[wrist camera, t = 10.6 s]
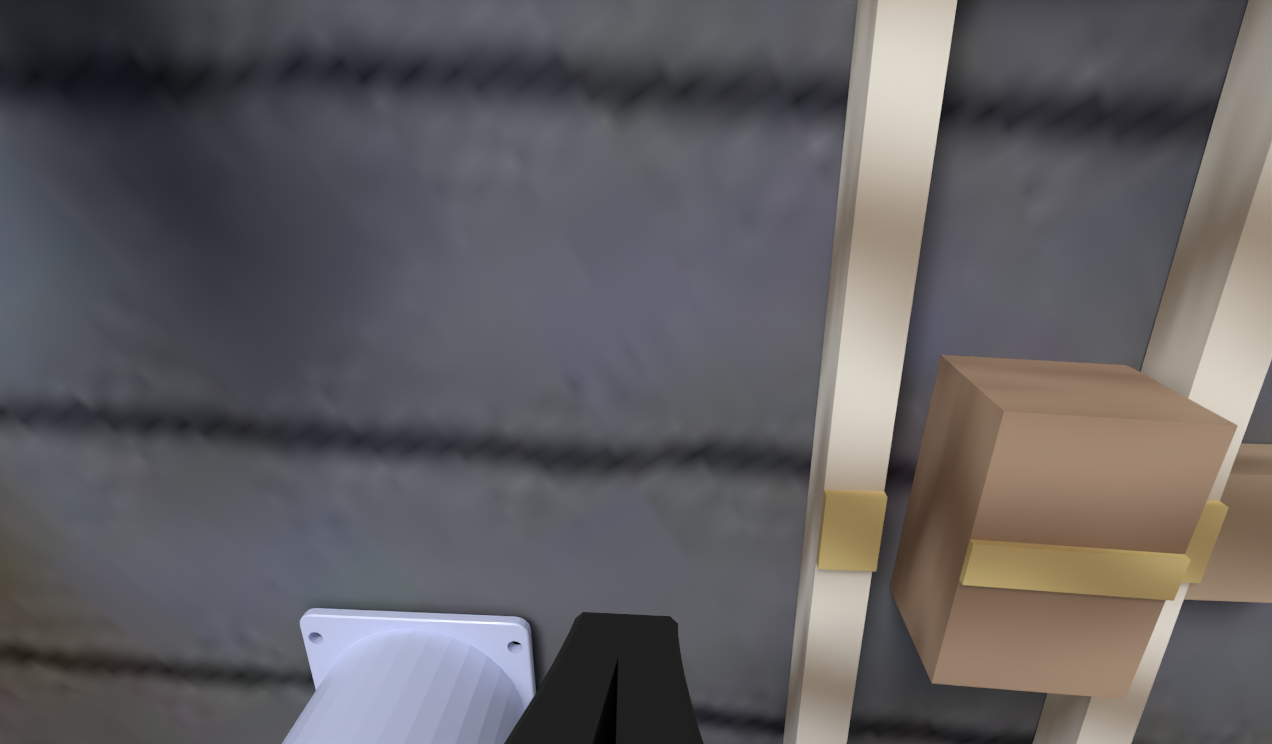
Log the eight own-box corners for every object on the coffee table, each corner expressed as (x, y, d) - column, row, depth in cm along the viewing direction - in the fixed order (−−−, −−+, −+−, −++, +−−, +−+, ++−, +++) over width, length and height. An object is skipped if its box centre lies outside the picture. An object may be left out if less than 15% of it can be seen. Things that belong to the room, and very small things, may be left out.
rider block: (1045, 596, 21) (1129, 705, 17) (887, 584, 21) (934, 689, 17) (1122, 362, 18) (1245, 429, 14) (938, 352, 18) (1007, 415, 14)
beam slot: (1130, 849, 24) (1170, 913, 22) (774, 827, 25) (782, 886, 23) (1552, -209, 13) (1706, -268, 11) (876, -182, 14) (908, -233, 12)
